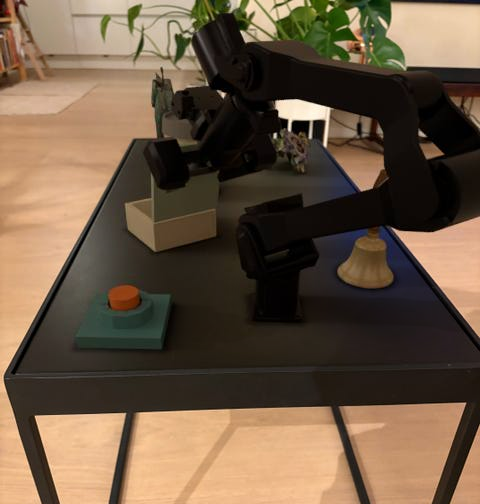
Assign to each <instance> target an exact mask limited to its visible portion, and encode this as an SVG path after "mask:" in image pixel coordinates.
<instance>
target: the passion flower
mask: <svg viewBox="0 0 480 504" xmlns="http://www.w3.org/2000/svg"><path fill="white" fill-rule="evenodd" d="M279 135H280V137H281V140H279V139H278V138H274V140H273V141H274V142H273V144H274V146H275V148H276V151H277V153H278V154H277V158H279V157H280V158H282V159H284V158H285V156H286V157H287V163H288V164H291V166H292V167H293V169H294V171H295V172H297V173H301V174H304V173H305V166H304V165H306V164H307V163H308V162H307V161H308V158H309V157H308V155H309V150H308V149H307V148H306V147H309V148H311V147H312V145H311V141H310V140H309V139H308V137H307V134H306V132H305V131H300V132H299V133H298V135H297V134H296V132H294V131H291V130H289V129H288V128H285V127H284V128H283V129H281V131H280V132H279Z"/></svg>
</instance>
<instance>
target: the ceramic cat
mask: <svg viewBox="0 0 480 504" xmlns="http://www.w3.org/2000/svg"><path fill="white" fill-rule="evenodd" d="M159 71H160V73H161V76H160V75H159V74H158V73H157V72H154V74H155V79H152V82H151V96H150V97H151V103H150V104H151V107H152V108H154V123H155V131H156V139H160V138H165V137H164V134H163V133H162V117H163V114H165V113H167V112H170V111H172V110H171V100H172V97H173V96H174V94H175V91H174V87H173V84H172V80H171V78H164V67H163V66H160V68H159Z"/></svg>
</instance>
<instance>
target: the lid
mask: <svg viewBox="0 0 480 504" xmlns="http://www.w3.org/2000/svg"><path fill="white" fill-rule="evenodd" d="M196 145H197V142H192V143H186V144H180V145H179V146H180V148H181V151H182V153H183V152H189V151H195V150H197V149H196ZM219 171H220V170H219ZM219 171H214V172H210V171H209V169H208V168H205V169H200V170H194V171H189V172H190V179H189V181H188V182H187V183H186V184H185V185H186V187H184V188H181V189H178V190H176V191H173V192H171V193H166V191H165V190H161V189H160V188H158V187H157V185H156V183H155V181H154V178H153V176H152V173H151V172H150V188H151V189H150V190H151V191H150V192H151V193H150V194H151V197H150V198H152V221H153V222H154V223H156V222H160V221H164V220H168V219H173V218H177V217H181V216H186V215H190V214H194V213H198V212H203V211H207V210H211V209H218V206H219V192H220V191H219V190H220V183H219V181H218V178H217V175H218V173H219Z"/></svg>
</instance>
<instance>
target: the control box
mask: <svg viewBox="0 0 480 504" xmlns="http://www.w3.org/2000/svg"><path fill="white" fill-rule="evenodd" d="M138 291H139V298H140V305H139V306H138V307H137V308H135V309H132V310H128V311H116V310H113V309H112V308H111V307H110V300H109V292H96V293H95V294H94V297H93V299H92V301H91V303H90V305H89V307H88V310H87V311H86V314H85V315H84V318H83V320H82V323H81V324H80V325H79V326H80V327H79V329H78V331H77V334H76V335H75V341H76V346H77V348H78V349H116V350H117V349H119V350H120V349H123V350H124V349H125V350H131V349H132V350H163V346H164V341H165V337H166V332H167V328H168V323H169V320H170V315H171V310H172V305H173V304H172V303H173V301H172V294H169V293H167V294H165V293H164V294H162V293H161V294H160V293H149V292H147V291H144V290H142V289H138Z"/></svg>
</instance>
